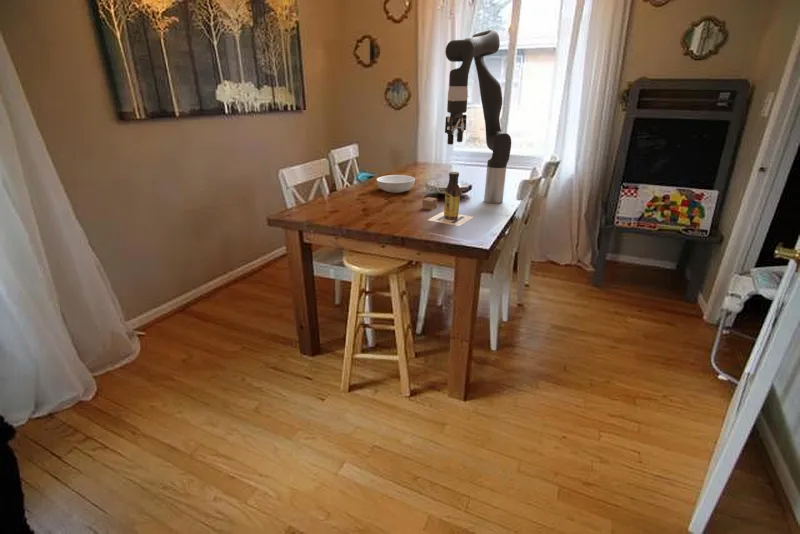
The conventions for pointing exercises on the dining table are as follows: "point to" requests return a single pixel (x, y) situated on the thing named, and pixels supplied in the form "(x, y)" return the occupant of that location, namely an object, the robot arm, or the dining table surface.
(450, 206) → the sauce bottle
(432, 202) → the walnut block
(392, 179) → the serving bowl
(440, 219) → the letter card
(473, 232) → the dining table surface
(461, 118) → the robot arm
